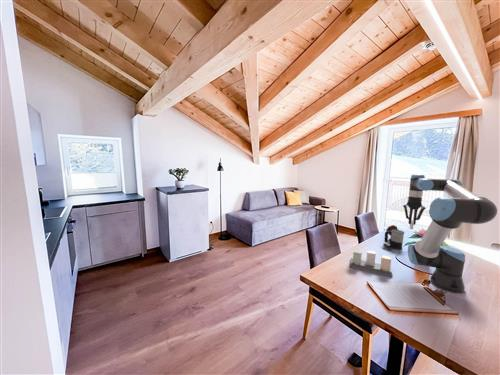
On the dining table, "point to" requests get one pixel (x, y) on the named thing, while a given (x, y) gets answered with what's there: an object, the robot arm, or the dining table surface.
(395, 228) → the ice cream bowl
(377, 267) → the grey tray
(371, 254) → the cream upright block
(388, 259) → the beige tall block
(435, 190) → the robot arm
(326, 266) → the dining table surface
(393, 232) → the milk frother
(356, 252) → the key sage
